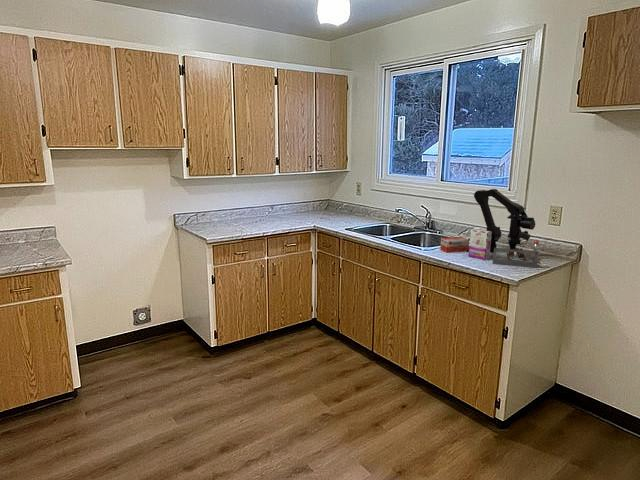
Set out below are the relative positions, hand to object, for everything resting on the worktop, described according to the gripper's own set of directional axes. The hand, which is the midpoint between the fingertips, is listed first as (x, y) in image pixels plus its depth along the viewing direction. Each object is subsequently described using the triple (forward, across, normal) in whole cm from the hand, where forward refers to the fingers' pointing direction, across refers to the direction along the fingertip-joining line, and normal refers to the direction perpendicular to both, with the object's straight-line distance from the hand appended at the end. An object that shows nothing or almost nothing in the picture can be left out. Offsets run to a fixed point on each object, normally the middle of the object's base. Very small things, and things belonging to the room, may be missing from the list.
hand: (512, 252), depth 250 cm
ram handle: (+2, -1, -12) cm, 12 cm away
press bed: (+2, -18, 0) cm, 18 cm away
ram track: (+2, -4, -12) cm, 13 cm away
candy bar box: (+3, -10, +18) cm, 21 cm away
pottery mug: (+3, -8, -2) cm, 8 cm away
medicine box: (+3, +2, +33) cm, 33 cm away
